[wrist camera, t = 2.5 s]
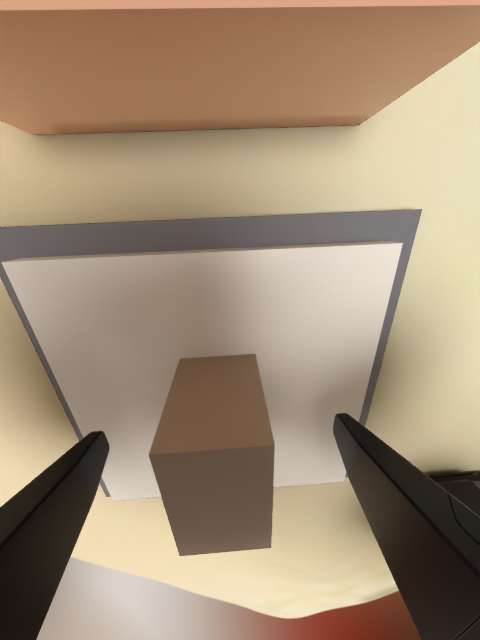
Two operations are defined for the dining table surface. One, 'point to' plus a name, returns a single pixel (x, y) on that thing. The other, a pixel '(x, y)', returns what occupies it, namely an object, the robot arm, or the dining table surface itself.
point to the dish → (219, 61)
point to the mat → (212, 235)
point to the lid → (212, 370)
